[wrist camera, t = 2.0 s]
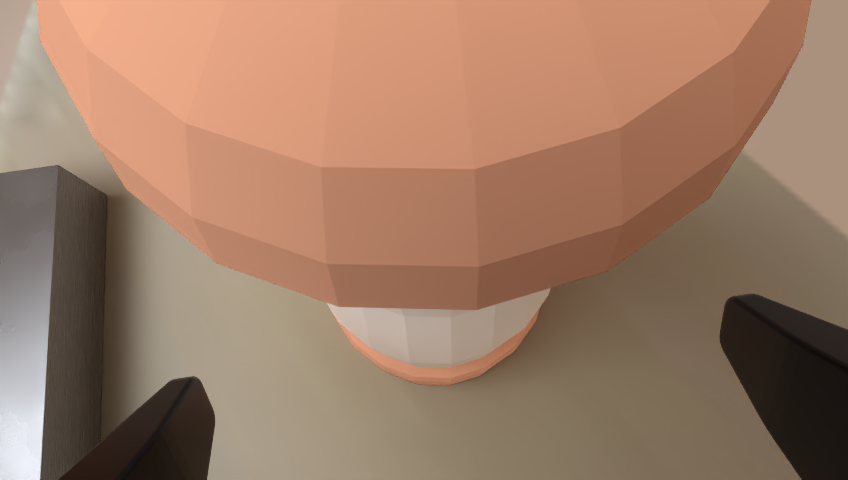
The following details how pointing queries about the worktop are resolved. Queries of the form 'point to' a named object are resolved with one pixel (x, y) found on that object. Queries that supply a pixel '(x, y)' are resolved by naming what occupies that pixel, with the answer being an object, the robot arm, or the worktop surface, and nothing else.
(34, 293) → the steel bar
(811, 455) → the robot arm
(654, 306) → the worktop surface
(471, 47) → the salt shaker
